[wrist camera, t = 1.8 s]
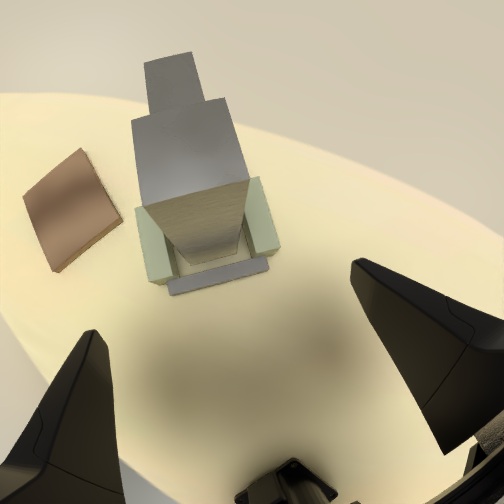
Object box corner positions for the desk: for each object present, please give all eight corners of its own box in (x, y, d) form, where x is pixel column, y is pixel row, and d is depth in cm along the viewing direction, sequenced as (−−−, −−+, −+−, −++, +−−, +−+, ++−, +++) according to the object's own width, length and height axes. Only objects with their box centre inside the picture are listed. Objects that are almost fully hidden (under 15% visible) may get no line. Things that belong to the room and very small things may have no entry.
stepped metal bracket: (236, 253, 22) (250, 179, 9) (190, 265, 21) (142, 206, 9) (215, 175, 23) (208, 48, 10) (172, 185, 22) (127, 67, 10)
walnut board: (123, 221, 21) (118, 217, 21) (58, 273, 20) (52, 271, 19) (85, 152, 22) (80, 147, 21) (28, 200, 21) (22, 196, 20)
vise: (277, 268, 22) (285, 262, 19) (162, 298, 21) (152, 297, 18) (254, 192, 23) (258, 176, 20) (145, 220, 22) (134, 208, 19)
